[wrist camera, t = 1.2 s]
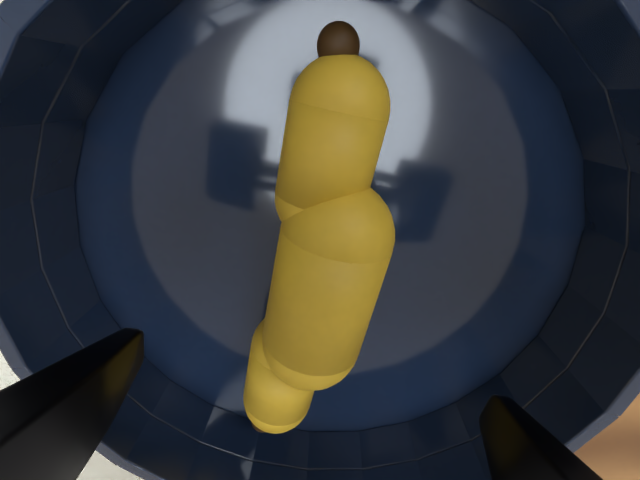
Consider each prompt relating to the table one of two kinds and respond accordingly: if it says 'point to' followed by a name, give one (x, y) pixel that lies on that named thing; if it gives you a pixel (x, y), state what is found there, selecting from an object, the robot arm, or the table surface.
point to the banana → (323, 234)
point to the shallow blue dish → (264, 223)
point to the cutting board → (616, 447)
